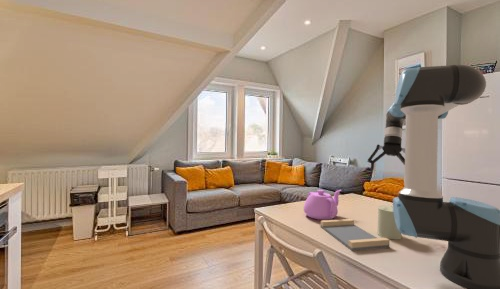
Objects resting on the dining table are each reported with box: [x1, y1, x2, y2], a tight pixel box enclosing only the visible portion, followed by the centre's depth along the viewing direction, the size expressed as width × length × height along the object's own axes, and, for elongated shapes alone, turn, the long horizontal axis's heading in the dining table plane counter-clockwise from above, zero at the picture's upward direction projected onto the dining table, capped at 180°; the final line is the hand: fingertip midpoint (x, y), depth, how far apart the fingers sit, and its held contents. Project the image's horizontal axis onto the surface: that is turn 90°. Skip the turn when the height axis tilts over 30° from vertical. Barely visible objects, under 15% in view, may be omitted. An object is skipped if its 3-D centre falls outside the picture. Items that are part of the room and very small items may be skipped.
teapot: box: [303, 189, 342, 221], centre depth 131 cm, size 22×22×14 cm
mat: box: [320, 218, 391, 252], centre depth 105 cm, size 24×16×3 cm, turn 11°
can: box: [376, 205, 402, 240], centre depth 107 cm, size 9×9×12 cm
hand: (389, 179), depth 119 cm, fingers open, 13 cm apart
